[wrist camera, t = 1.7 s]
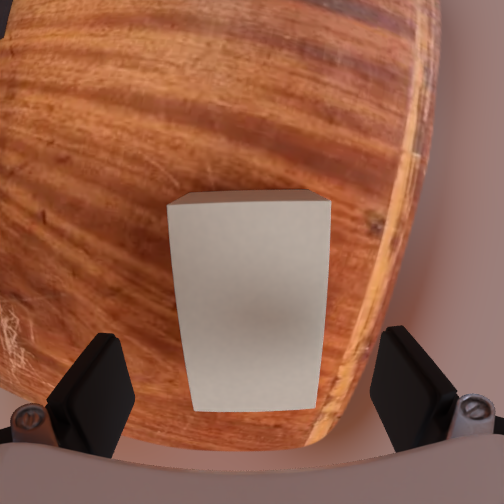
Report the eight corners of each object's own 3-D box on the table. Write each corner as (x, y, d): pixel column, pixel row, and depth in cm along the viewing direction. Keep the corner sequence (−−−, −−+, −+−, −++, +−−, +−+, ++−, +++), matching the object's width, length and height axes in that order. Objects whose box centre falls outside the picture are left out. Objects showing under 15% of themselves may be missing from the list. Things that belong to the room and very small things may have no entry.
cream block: (204, 360, 18) (193, 411, 14) (189, 192, 15) (166, 204, 11) (302, 358, 18) (315, 408, 14) (308, 189, 15) (331, 200, 11)
